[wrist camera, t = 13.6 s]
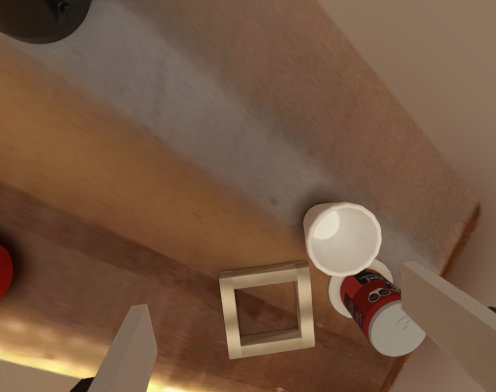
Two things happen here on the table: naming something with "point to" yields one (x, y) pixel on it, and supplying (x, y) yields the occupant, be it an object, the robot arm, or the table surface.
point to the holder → (275, 339)
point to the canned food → (380, 313)
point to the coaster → (337, 281)
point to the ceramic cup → (5, 271)
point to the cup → (341, 237)
